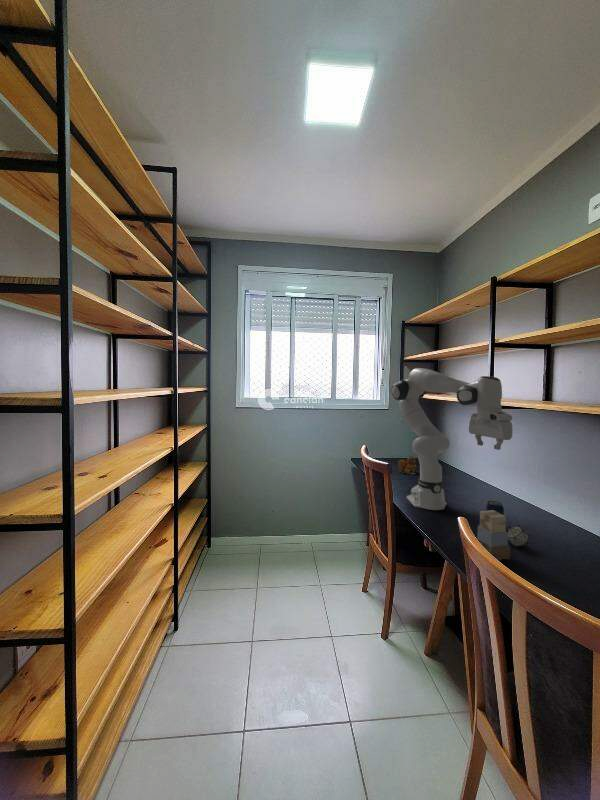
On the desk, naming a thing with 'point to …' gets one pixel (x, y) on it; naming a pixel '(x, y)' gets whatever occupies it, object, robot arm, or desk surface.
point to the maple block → (492, 521)
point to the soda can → (495, 507)
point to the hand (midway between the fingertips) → (488, 447)
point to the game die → (517, 536)
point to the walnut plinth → (498, 551)
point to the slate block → (493, 537)
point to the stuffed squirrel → (407, 465)
